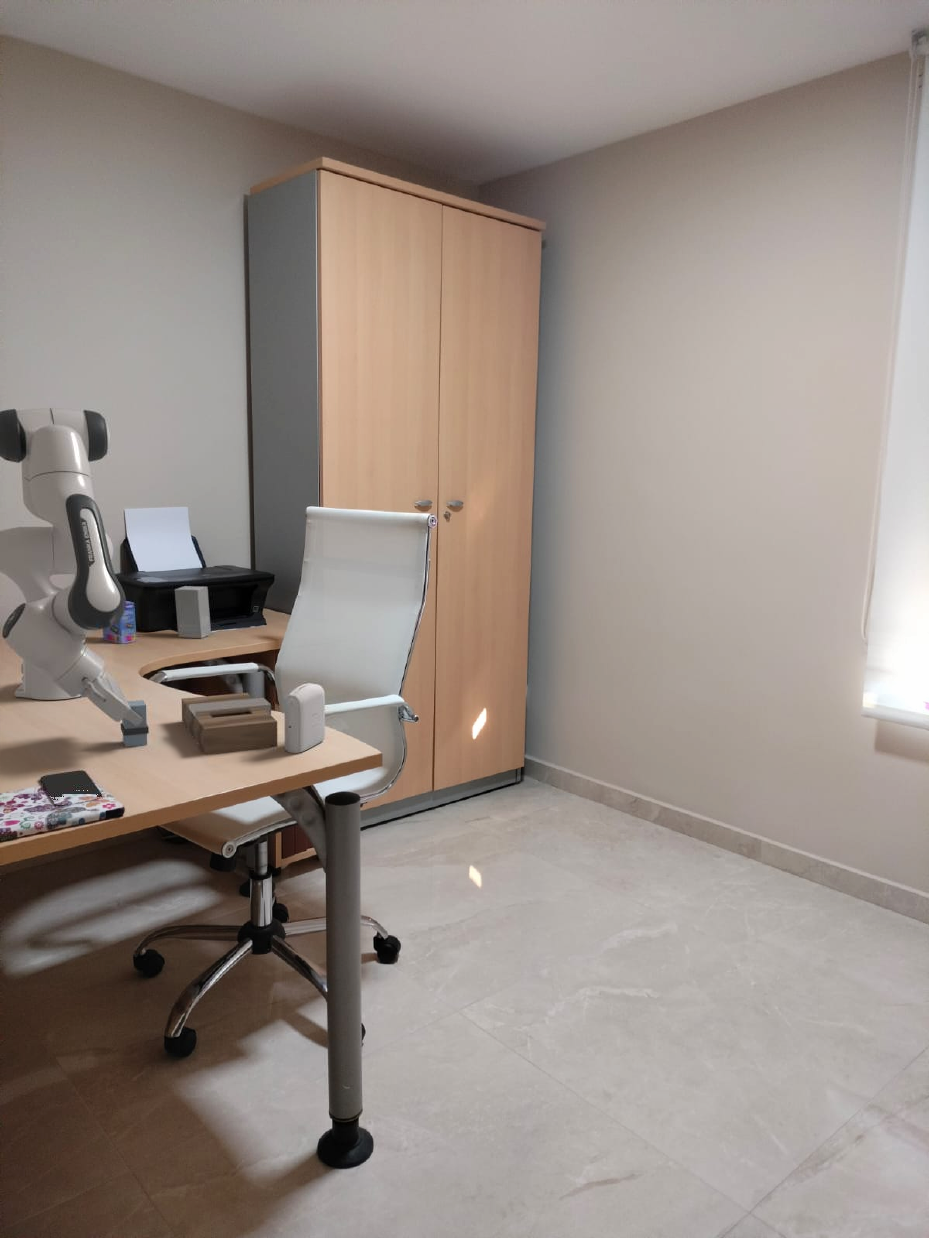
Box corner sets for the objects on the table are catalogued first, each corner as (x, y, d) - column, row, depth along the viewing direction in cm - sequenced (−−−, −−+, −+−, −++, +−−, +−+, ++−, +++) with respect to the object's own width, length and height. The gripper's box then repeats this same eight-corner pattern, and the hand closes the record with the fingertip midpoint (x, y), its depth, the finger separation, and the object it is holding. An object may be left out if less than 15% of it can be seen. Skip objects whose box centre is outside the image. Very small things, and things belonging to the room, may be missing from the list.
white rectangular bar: (189, 723, 184) (189, 704, 183) (263, 716, 191) (263, 697, 190) (195, 731, 179) (194, 711, 178) (271, 723, 185) (271, 704, 185)
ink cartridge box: (101, 640, 275) (99, 593, 273) (117, 637, 279) (116, 591, 277) (120, 644, 269) (119, 596, 267) (137, 641, 274) (135, 594, 271)
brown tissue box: (182, 721, 192) (181, 698, 191) (247, 714, 198) (247, 692, 198) (204, 754, 171) (204, 728, 170) (277, 745, 177) (277, 721, 177)
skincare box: (211, 635, 287) (210, 586, 284) (199, 639, 280) (198, 589, 277) (187, 633, 289) (186, 584, 286) (175, 637, 282) (174, 587, 279)
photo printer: (300, 755, 172) (300, 692, 170) (281, 751, 174) (281, 689, 172) (327, 740, 182) (328, 680, 180) (309, 737, 183) (309, 678, 181)
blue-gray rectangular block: (121, 741, 178) (119, 701, 176) (145, 738, 180) (144, 699, 178) (124, 747, 174) (122, 707, 172) (149, 745, 176) (147, 705, 174)
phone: (55, 805, 143) (38, 776, 155) (55, 810, 143) (38, 780, 156) (104, 796, 147) (84, 769, 160) (104, 801, 147) (84, 773, 160)
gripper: (99, 672, 162) (157, 720, 168) (88, 650, 179) (142, 694, 186) (73, 699, 160) (133, 745, 166) (65, 674, 178) (119, 717, 184)
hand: (137, 718), depth 176 cm, fingers closed on blue-gray rectangular block, 4 cm apart
